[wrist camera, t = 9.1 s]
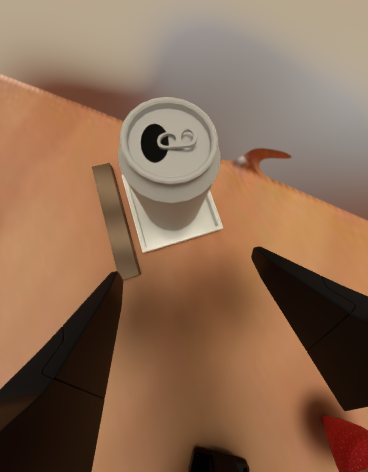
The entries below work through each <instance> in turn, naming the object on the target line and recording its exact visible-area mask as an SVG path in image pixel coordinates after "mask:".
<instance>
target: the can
mask: <svg viewBox="0 0 368 472" xmlns="http://www.w3.org/2000/svg"><path fill="white" fill-rule="evenodd" d="M119 138H120V146H119V151H118V159H119V166H120V170H121V171H122V173H123V175H124V177H125V179H126V181H127V183H128V184H129V186H130V188H131V189H132V191H133V193H134V194H135V196H136V198H137V199H138V201H139V203H140V204H141V206H142V207H143V209H144V211H145V212H146V214H147V216H148V217H149V219H150V220H151V221H152V222H153V223H154V224H155V225H156V226H158V227H160V228H162V229H166V230H178V229H182V228H184V227H186V226H188V225H190V223H191V222H192V221H193V220H194V219H195V218H196V216H197V214H198V212H199V210H200V208H201V206H202V204H203V202H204V200H205V198H206V196H207V194H208V192H209V190H210V188H211V186H212V184H213V182H214V180H215V178H216V175H217V173H218V171H219V168H220V157H221V155H220V151H219V147H218V137H217V133H216V129H215V126H214V124H213V123H212V121H211V120H210V118H209V117H208V115H207V114H206V113H204V112H203V111H202V110H201V109H200V108H198V107H197V106H196V105H194V104H192V103H190V102H187V101H185V100H183V99H178V98H172V97H163V98H154V99H151V100H149V101H146V102H144V103H141V104H140V105H139V106H137V107H136V108H135V109H134V110H132V111H131V112H130V113H129V114H128V116H127V118H126V119H125V121H124V122H123V124H122V128H121V132H120V136H119Z"/></svg>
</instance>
